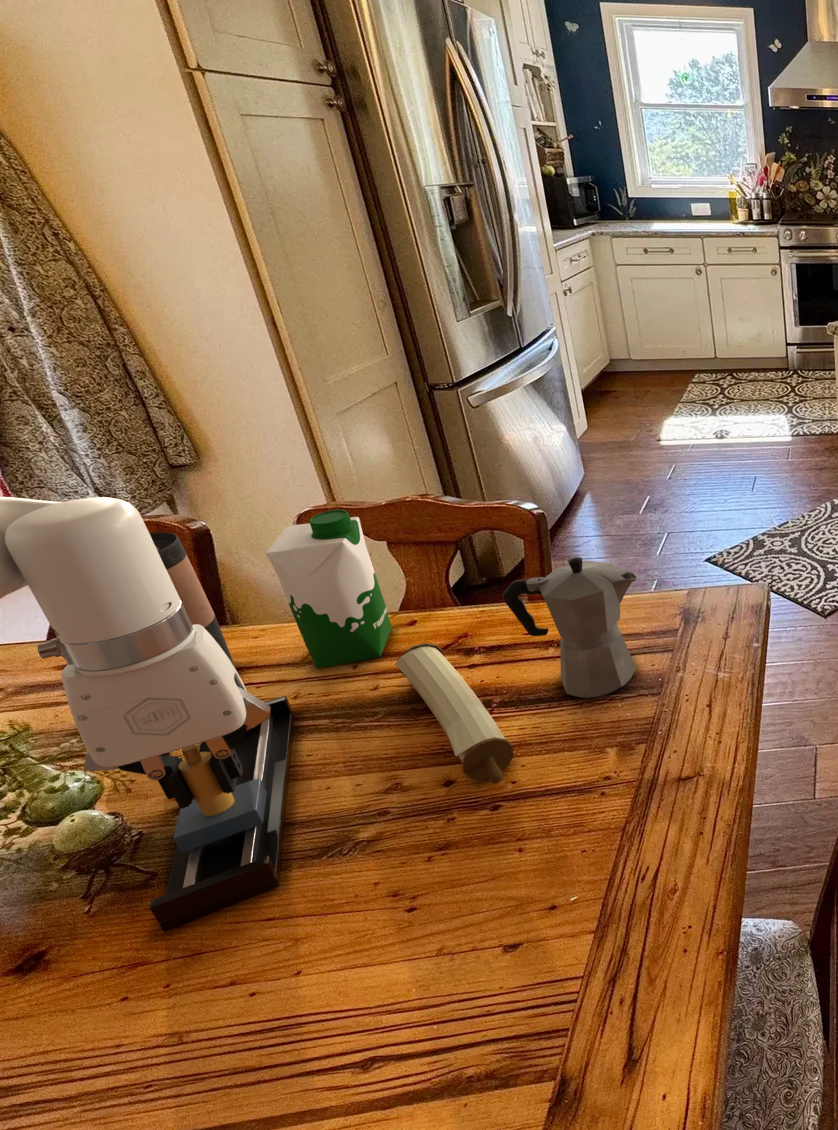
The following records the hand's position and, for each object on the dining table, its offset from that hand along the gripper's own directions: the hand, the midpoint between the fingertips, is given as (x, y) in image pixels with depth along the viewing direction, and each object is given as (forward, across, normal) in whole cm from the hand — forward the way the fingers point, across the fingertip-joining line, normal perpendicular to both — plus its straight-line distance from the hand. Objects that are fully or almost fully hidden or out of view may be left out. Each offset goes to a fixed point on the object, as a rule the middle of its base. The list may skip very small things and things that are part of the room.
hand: (209, 789), depth 74 cm
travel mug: (+7, -6, +32) cm, 34 cm away
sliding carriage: (+4, 0, 0) cm, 4 cm away
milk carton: (+7, +10, +31) cm, 33 cm away
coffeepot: (+7, +35, +7) cm, 36 cm away
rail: (+7, 0, +5) cm, 8 cm away
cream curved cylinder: (+7, +20, +7) cm, 22 cm away
